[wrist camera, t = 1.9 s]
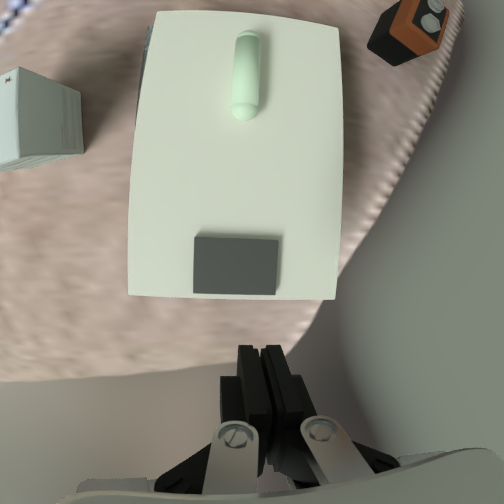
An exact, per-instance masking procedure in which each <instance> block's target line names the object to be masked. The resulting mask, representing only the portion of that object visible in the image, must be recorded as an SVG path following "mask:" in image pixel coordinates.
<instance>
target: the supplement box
mask: <svg viewBox="0 0 504 504" xmlns="http://www.w3.org/2000/svg"><path fill="white" fill-rule="evenodd" d="M82 154H84V145H83V131H82V114H81V92H79V91H76V90H74V89H72V88H70V87H67V86H65V85H63V84H60V83H58V82H56V81H53V80H51V79H49V78H46V77H44V76H41V75H39V74H36V73H34V72H32V71H29V70H27V69H24V68H22V67H17V68H15V69H13V70H11V71H9V72H7V73H5V74H3V75H1V76H0V172H4V171H12V170H21V169H30V168H34V167H37V166H41V165H44V164H48V163H51V162H55V161H59V160H62V159H66V158H70V157H74V156H78V155H82Z"/></svg>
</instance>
